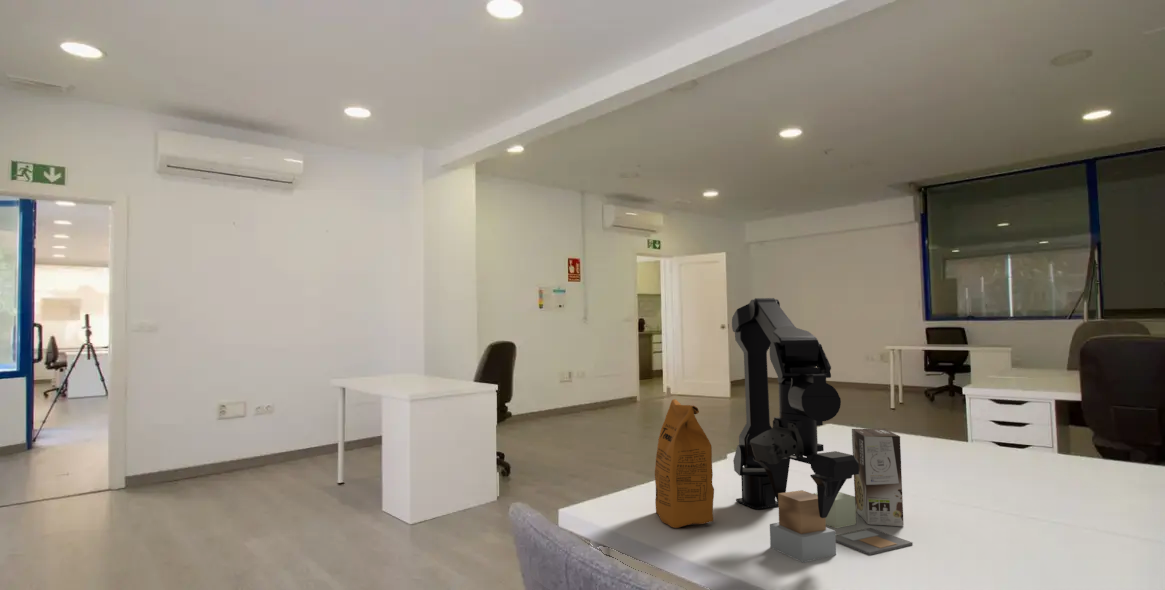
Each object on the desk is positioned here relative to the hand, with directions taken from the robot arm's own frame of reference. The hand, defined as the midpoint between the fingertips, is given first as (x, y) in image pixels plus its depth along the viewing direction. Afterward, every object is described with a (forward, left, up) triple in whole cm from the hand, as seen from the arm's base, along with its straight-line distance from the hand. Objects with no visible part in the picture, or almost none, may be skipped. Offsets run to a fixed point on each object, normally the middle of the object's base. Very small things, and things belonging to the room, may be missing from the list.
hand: (801, 509), depth 94 cm
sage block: (-8, +16, -7) cm, 19 cm away
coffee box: (-6, +25, -7) cm, 27 cm away
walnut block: (0, 0, -3) cm, 3 cm away
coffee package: (-22, -8, -7) cm, 24 cm away
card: (+2, +13, -6) cm, 15 cm away
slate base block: (0, 0, -7) cm, 7 cm away
